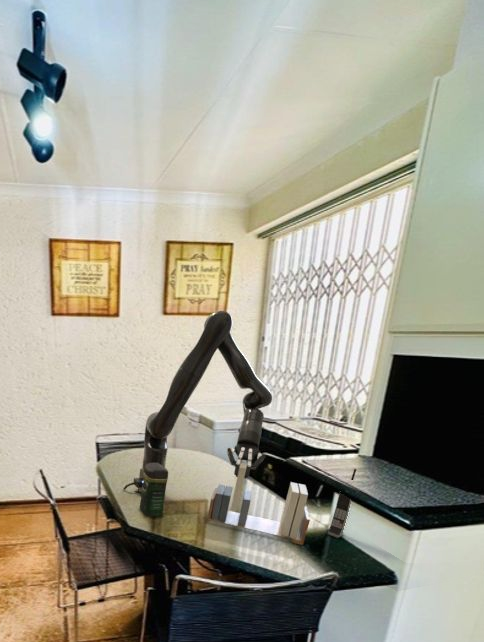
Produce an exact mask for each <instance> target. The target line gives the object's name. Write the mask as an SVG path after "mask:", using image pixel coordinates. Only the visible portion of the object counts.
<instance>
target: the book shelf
mask: <svg viewBox="0 0 484 642" xmlns="http://www.w3.org/2000/svg"><path fill="white" fill-rule="evenodd" d="M217 488H218V487H214V490H213V492H212V495H211V498H210V502H209V508H208V513H207V519H206V520H208V521H213V522H216V523H217V522H218V523H221V524H226V525H230V526H234V527H238V528H244V529H248V530H251V531H257V532H262V533H265V534H270V535H274V536H278V537H282V538H287V539H292V544H296V545H300V546H304V543H305V540H306V535H307V532H308V528H309V525H310V522H311V518H310V514H309V510H308V507H307V505H305V508H304V512H303V516H302V519H301V523H300V527H299V531H298V534H297V538H293V537H289V535H288V536H284V535H281V524H280V522H281V521H278V520H273V519H269V518H264V517H259V516H255V515H250V514H248V515H247V520H246V524H245V526H240V525H238V522H239V516H240V512H238V511H233V510H228V513H227V517H226V521H225V522H223V521H219V518H218V520H214V519H211V516H212V511H213V506H214V500H215V495H216V491H217ZM219 515H220V514H219Z"/></svg>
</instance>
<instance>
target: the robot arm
mask: <svg viewBox="0 0 484 642" xmlns="http://www.w3.org/2000/svg"><path fill="white" fill-rule="evenodd" d="M232 328H233V317H232V315H231V314H230V313H229V312H227V311H226V310H218V311H215V312H213V313H211V314H210V315H209V316H207V317H206V319H205V321H204V324H203V331H202V333H201V335H200V337H199V339H198V340H197V343H196V344H195V345H194V347H193V348H192V349H191V351H190V352H189V353H188V354H187V356H186V357H185V358H184V360H183V361H182V363H181V364H180V366H179V367H178V369H177V371H176V372H175V374H174V376H173V378H172V381H171V383H170V386H169V389H168V391H167V392H168V393H167V396H166V399H165V401H164V403H163V404H162V406H161V408H160V409H159V411H155V412H152V413H151V414H150V415H149V416H148V417H147V419H146V421H145V427H144V437H143V439H144V440H143V447H144V449H143V458H142V466H141V468H140V469H139V474H138V475H139V476H138V477H134V478H133V482H130V483H127V484H126V485H125V486H124V487H123V490H126V489H127V488H128V487H131V486H133V485H134V487H135V488H136V489H137V491H138V492H139V493H140V494H142V487H143V479H144V468H145V465H147V464H148V463H159V464H160V465H162V466H163V467H165V468H166V463H167V457H168V436H170V435H171V433H172V431H173V429H174V427H175V425H176V423H177V420H178V419H179V417H180V414H181V413H182V411H183V409H184V408H185V406H186V404H187V403H188V401H189V399H190V398H191V397H192V394H193V393H194V391H195V390H196V389H197V387H198V385H199V383H200V382H201V380H202V378H203V376H204V375H205V372H206V371H207V369H208V367H209V365H210V363H211V360H212V359H213V357H214V355H215V353H216V351H217V350H218V351H219V353H220V354H221V356H222V358H223V359H224V361H225V363H226V364H227V366H228V369H229V370H230V372H231V375H232V376H233V378H234V380H235V382H236V384H237V385H238V387H239V388H240V389H241V390H247V389H249V390H251V391H250V392H248V393H246V394H245V395H244V396H243V399H242V408H243V409H242V410H243V419H242V423H241V426H240V428H239V432H238V437H237V441H236V445H235V446H234V447H233V448H231V447H228V448H227V449H226V454H227V457H228V461H229V462H230V465H231V466H234V471H233V474H234V476H235V478H237V477H238V472H239V467H240V463H241V460H246V461H247V467H246V472H245V477H244V480H246V479H247V478H249V476H250V471H251V470H256V469H257V468H258V467H259V466H260V465H261V464H262V462H264V460H265V458H266V454H265V453H263V454H262V453H261V452H260V450H259V448H260V442H261V438H262V432H263V430H262V429H263V427H262V426H263V423H264V418H265V417H264V415H265V414H264V412H263V411H262V410H261V409H262V408H266V407H267V406H270V405H271V404H272V402H273V394H272V392H271V391H270V389H269V388H268V387H267V385H265V384H264V382H262V381H261V380H260V379H259V377H258V376H257V375H256V373H255V371H254V369H253V367H252V366H251V363H250V362H249V360H248V359H247V358H246V356H245V355H244V354H243V352H242V351H241V350H240V348H239V347H238V345H237V343H236V342H235V340H234V338H233V336H232V332H231V331H232ZM234 454H235V455H236V457H237V460H236V459H235V456H234ZM255 458H257V459H256V460H255V461H254V462H253V463H252V461H253V460H254V459H255Z"/></svg>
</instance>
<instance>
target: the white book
mask: <svg viewBox="0 0 484 642" xmlns="http://www.w3.org/2000/svg"><path fill="white" fill-rule="evenodd" d="M246 467H247V461H246V460H241V463H240V467H239V472H238V477H236V481H235V487H234V493H233V496H232V501H231V507H230V511H233V512H238V508H239V504H240V499H241V495H242V490H243V485H244V482H245V481H244V480H245V478H244V477H245V472H246Z"/></svg>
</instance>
